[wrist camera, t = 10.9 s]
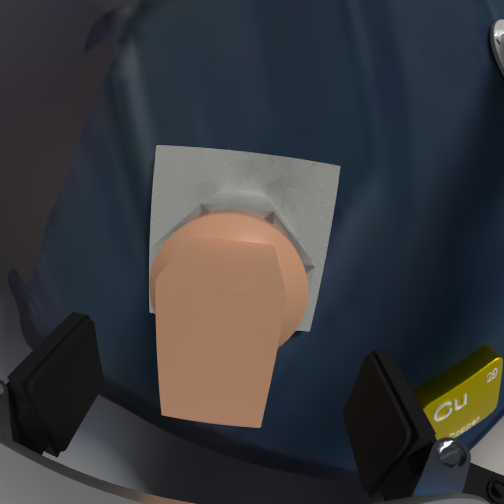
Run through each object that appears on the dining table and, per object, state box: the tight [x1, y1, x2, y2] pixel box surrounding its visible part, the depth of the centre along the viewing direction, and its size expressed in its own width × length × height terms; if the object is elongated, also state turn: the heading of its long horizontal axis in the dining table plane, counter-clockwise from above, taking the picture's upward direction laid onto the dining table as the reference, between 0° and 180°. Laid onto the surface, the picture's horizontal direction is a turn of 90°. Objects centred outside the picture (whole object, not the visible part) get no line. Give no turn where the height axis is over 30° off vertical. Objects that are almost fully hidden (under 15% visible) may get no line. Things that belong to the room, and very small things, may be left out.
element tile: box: [414, 345, 503, 441], centre depth 33 cm, size 15×15×5 cm
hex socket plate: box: [149, 145, 340, 331], centre depth 23 cm, size 16×16×12 cm
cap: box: [149, 210, 308, 428], centre depth 15 cm, size 8×8×10 cm
